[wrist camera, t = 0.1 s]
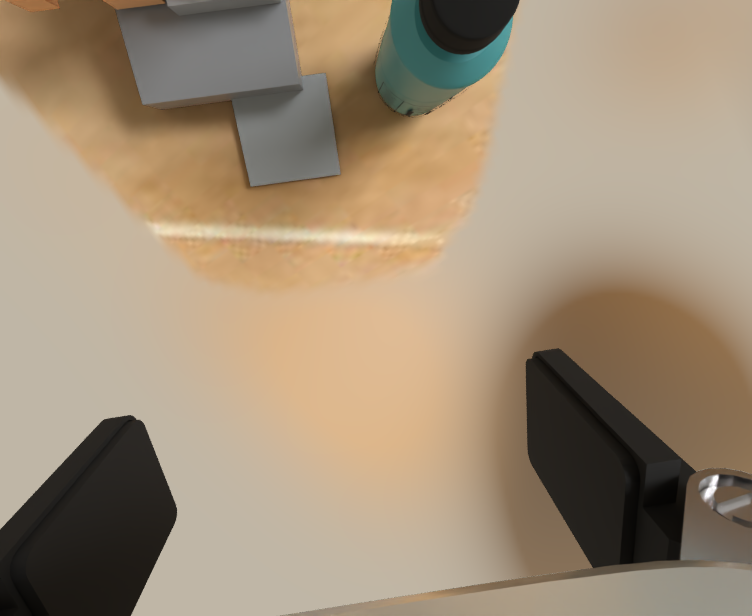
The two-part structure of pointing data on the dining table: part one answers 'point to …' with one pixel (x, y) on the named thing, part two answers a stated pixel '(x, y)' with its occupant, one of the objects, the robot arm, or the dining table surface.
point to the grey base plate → (210, 50)
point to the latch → (48, 0)
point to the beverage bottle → (439, 49)
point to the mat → (288, 134)
